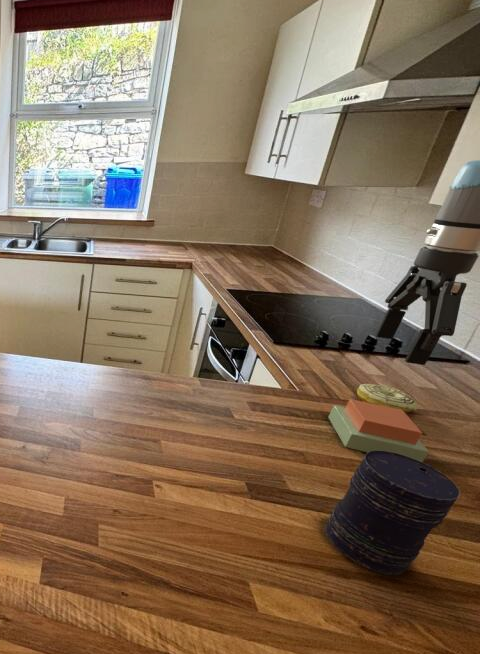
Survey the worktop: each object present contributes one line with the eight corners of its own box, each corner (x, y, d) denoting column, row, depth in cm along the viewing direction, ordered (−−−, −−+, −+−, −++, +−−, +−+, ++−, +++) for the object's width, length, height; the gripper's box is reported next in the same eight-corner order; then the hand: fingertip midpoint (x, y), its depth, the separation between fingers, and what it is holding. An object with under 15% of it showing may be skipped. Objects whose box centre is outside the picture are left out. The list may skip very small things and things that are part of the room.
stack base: (394, 432, 90) (401, 419, 89) (420, 465, 81) (429, 451, 79) (327, 417, 95) (333, 404, 94) (345, 447, 85) (352, 433, 84)
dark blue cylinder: (378, 583, 58) (431, 507, 51) (309, 527, 66) (347, 456, 60) (424, 565, 60) (479, 492, 54) (351, 514, 69) (392, 445, 63)
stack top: (395, 421, 88) (402, 409, 87) (415, 445, 81) (422, 433, 80) (344, 409, 92) (349, 398, 91) (358, 431, 84) (364, 420, 83)
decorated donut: (425, 418, 96) (433, 404, 94) (379, 416, 96) (387, 403, 94) (385, 394, 105) (392, 381, 104) (344, 392, 105) (350, 380, 104)
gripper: (393, 236, 88) (352, 325, 96) (463, 260, 67) (403, 371, 76) (439, 240, 85) (393, 331, 94) (527, 266, 64) (457, 380, 73)
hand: (397, 349), depth 85 cm, fingers open, 13 cm apart
